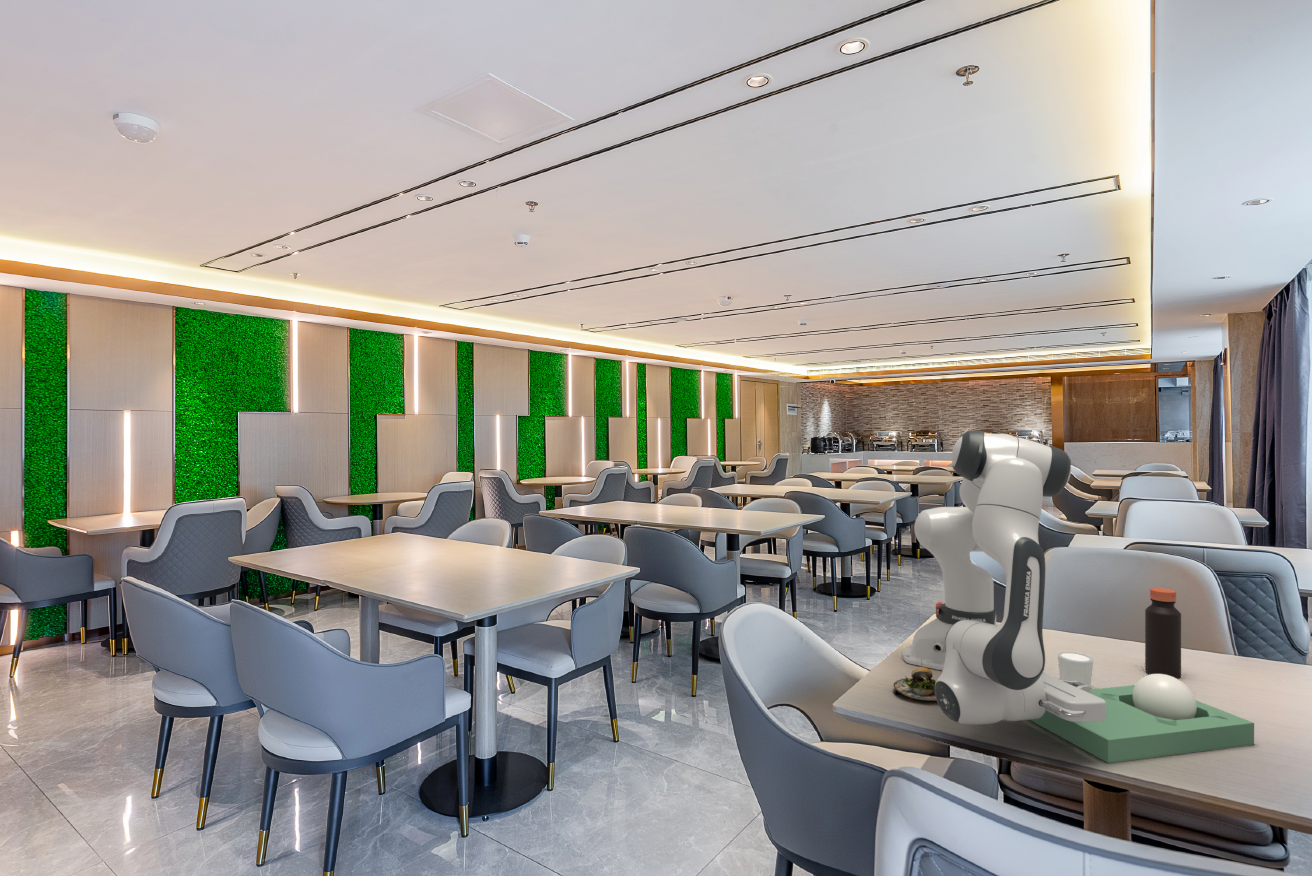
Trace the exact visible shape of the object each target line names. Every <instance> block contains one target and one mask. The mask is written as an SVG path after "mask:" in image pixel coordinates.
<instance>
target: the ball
mask: <svg viewBox="0 0 1312 876" xmlns="http://www.w3.org/2000/svg"><path fill="white" fill-rule="evenodd" d="M1134 685H1135V686H1134V689H1133V694H1132V696H1133V702H1134V705H1135V707H1136V708H1137V709H1139V710H1142V711H1144V712H1146V713H1148V714H1151V715H1153V716H1155V717H1160V718H1166V719H1171V720H1183V719H1192V718H1194V717H1195V714H1196V710H1197V704H1196V700H1197V699H1196V698H1195V695H1194V693H1193V692H1192V690H1191V689H1190V688H1189V687H1188V686H1187V684H1185V683H1184V682H1183V681H1181V680H1179V678H1178V679H1176V678H1174V677H1172V676H1169V675H1165V674H1147V675H1145V676H1142V677H1141V678H1140V679H1139V680H1137V681H1136V683H1135V684H1134Z"/></svg>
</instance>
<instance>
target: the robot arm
mask: <svg viewBox="0 0 1312 876" xmlns="http://www.w3.org/2000/svg"><path fill="white" fill-rule="evenodd" d="M951 463H952V469H953V470H954V472H955V473H956V474H957V475H958V476H959V477H962V478H963V479H962V481H961V484H960V486H959V497H960V500H961V502H962V503H963V505H964V506H938V507H933V508H928V509H924V510H921V512H920V513H919V514H917V515H918V516H917V517H916V518H915V521H914V527H913V528H914V534H915V538H916V539H917V541H918V542H919V544H920V545H921V546H922V548H925V549H926V550H927V551H928V552H930V554H931V555H932V556H933V557H934V558H935V560H936V561H937V562H938V565H939V566H940V569H941V571H942V572H941V573H942V577H943V586H944V587H943V588H944V602H942V601H938V602H937V603H936V604H935V605H934V606H935V607H934V608H935V617H936V618H935V619H933V620H931V621H930V622H928V623H927V624H925V625H923V626H922V627H920V628H918V629H917V630H916V631H915V633H914V635H913V639H912V643H911V645H909V646H907V647H905V648H904V649H903V652H902V659H903V661H904V662H906V663H907V664H911V665H915V666H918V667H925V668H928V669H934V670H938V671H941V674H940V675H939V676H938V677H937V679H936V680H935V681H936V683H935V688H934V691H935V697H936V702H937V705H938V707H939V708H940V710H941V711H942V713H943V714H944V715H945V716H946V717H947V718H948V719H950V720H951V721H953V722H955V723H957V724H962V725H988V724H989V725H990V724H996V723H997V724H998V723H999V722H1001V721H1006V722H1007V721H1008V722H1019V721H1020V722H1021V721H1027V720H1028V721H1031V720H1030V719H1038V718H1040V717H1041V716H1043V714H1044V713H1045V710H1046V711H1048V712H1050V713H1052V714H1054V715H1056V716H1058V717H1060V718H1062V719H1064V720H1067V721H1071V722H1101V721H1104V720H1105V718H1106V702H1105V700H1104V699H1102V698H1099V697H1097V696H1095V695H1093V694H1090V690H1091V686H1087V685H1085V684H1083V683H1080V682H1078V681H1066V680H1060V678H1056V677H1055V676H1052V675H1050V674H1048V673H1045V672H1044V670H1045V666H1046V652H1045V646H1044V645H1045V644H1044V636H1043V628H1044V627H1043V626H1044V625H1043V623H1044V608H1045V607H1044V606H1045V605H1044V604H1045V589H1046V588H1045V587H1046V557H1045V553H1044V549H1043V548H1042V546H1041V545H1040V543H1039V525H1040V521H1041V520H1040V519H1041V515H1042V507H1043V498H1047V497H1048V498H1051V497H1055V496H1057V495H1059V494H1061V493H1062V492H1063V490H1064V489H1065V487H1066V486H1067V484H1068V482H1069V481H1070V477H1071V473H1072V464H1071V463H1072V462H1071V458H1070V456H1069V455H1068V453H1067V452H1066V451H1065V450H1063V449H1061V448H1058V447H1056V446H1053V445H1046V444H1042V443H1040V442H1036V441H1033V440H1030V439H1026V438H1023V437H1018V436H1013V434H1012V435H1011V434H1007V433H989V432H984V431H983V430H967V431H966V432H964V433H962V434H961V435H960V437H959V438H958V439H957V440H956V442H955V443H954V446H953V448H952V451H951ZM971 552H976V553H977V552H979V553H980V552H981V553H982V552H983V553H984V554H985V555H987V557H990V558H991V559H993V560H994V561H996V562H997V563H998V564H999V565H1001V568H1002V569H1003V571H1004V573H1005V578H1006V582H1005V597H1004V606H1003V607H1004V609H1003V617H1002V618H1003V619H1002V621H1001V622H1000V623H999V624H997V614H996V613H997V612H996V608H994V607H995V606H994V605H995V602H994V599H995V596H994V593H995V589H994V588H995V587H994V585H995V584H994V583H995V582H994V579H993V577H992V575H991V574H990V573H989V572H988V571H987V570H986V569H984V568H982V567H980V566H979V565H977V564H975V563H973V562H972V560H971V557H970V553H971ZM921 659H922V665H921Z"/></svg>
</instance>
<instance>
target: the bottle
mask: <svg viewBox="0 0 1312 876" xmlns="http://www.w3.org/2000/svg"><path fill="white" fill-rule="evenodd" d="M1149 593H1150V594H1149V598H1150V601H1151V604H1150V605H1149V606H1147V607H1146V608H1145V609H1144V612H1145V613H1144V616H1145V619H1144V623H1145V624H1144V629H1145V631H1144V632H1145V633H1144V634H1145V635H1144V643H1145V644H1144V647H1145V648H1144V650H1145V651H1144V654H1145V655H1144V659H1145V660H1144V662H1145V663H1144V665H1145V666H1144V670H1145V672H1146V673H1147V675H1150V674H1165V675H1169V676H1172V677H1174V678H1176V679H1178V680H1179V679H1181V677H1182V613H1181V612H1180V611H1179V610H1178V609H1177V608H1176V607H1175V604H1176V602H1177V591H1175V590H1173V589H1169V588H1164V587H1163V588H1162V587H1152V588H1150V589H1149Z"/></svg>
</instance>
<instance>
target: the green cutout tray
mask: <svg viewBox="0 0 1312 876" xmlns="http://www.w3.org/2000/svg"><path fill="white" fill-rule="evenodd" d="M1134 686H1135V684H1133V685H1122V686H1114V687H1113V686H1112V687H1103V688H1102V687H1101V688H1093V689H1092V688H1090V694H1093V695H1095V696H1097V697H1099V698H1102V699H1104V700H1105V702H1106V718H1105V720H1104V721H1101V722H1071V721H1067V720H1064V719H1062V718H1060V717H1058V716H1056V715H1054V714H1052V713H1050V712H1048V711H1046V710H1045V713H1044V714H1043V716H1041V717H1040V718H1038V719H1030V720H1029V721H1031V722H1033V723H1035V724H1036V725H1038V726H1040V727H1042V728H1044V729H1045V730H1047V731H1049V732H1051V733H1053V734H1055V735H1056V736H1058V737H1060V738H1062V739H1064V740H1065V741H1067V742H1069V743H1071V744H1073V745H1075V746H1076V747H1079V748H1080V749H1081V750H1083V751H1085V752H1087V753H1090V755H1092V756H1094V757H1096V758H1098V759H1099V760H1102V761H1104V762H1105V763H1107V764H1111V763H1119V762H1127V761H1135V760H1143V759H1151V758H1158V757H1161V758H1162V757H1166V756H1167V757H1168V756H1175V755H1182V754H1192V753H1198V752H1199V753H1200V752H1205V751H1215V750H1223V749H1230V748H1238V747H1245V746H1252V745H1255V722H1253V721H1251V720H1249V719H1246V718H1243V717H1241V716H1237V715H1235V714H1232V713H1230V712H1228V711H1224V710H1223V709H1220V708H1217V707H1215V706H1212V705H1209V704H1206V703H1204V702H1202V701H1200V700H1197V699H1195V700H1196V704H1197V710H1196V714H1195V717H1194V718H1192V719H1183V720H1171V719H1166V718H1160V717H1155V716H1153V715H1151V714H1148V713H1146V712H1144V711H1142V710H1139V709H1137V708H1136V707H1135V705H1134V702H1133V696H1132V694H1133V689H1134Z"/></svg>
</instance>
